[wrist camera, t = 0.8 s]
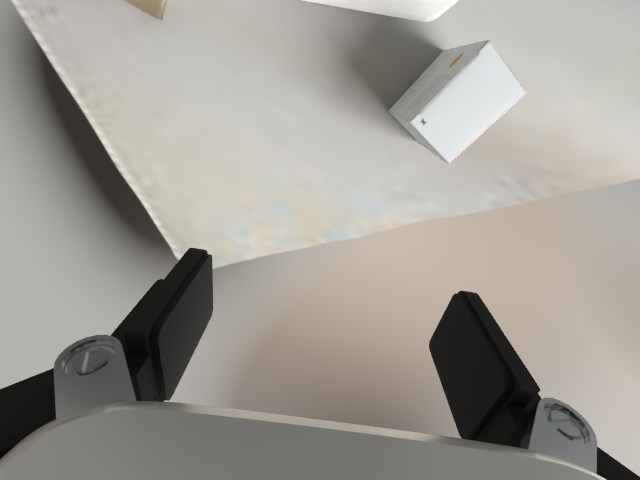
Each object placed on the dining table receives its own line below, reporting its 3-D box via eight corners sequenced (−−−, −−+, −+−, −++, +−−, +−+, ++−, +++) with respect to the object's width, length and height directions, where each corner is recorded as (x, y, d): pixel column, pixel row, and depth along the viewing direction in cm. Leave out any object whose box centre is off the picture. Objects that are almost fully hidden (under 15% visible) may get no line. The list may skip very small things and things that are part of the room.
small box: (418, 143, 36) (447, 167, 27) (386, 110, 34) (407, 123, 25) (474, 87, 33) (530, 93, 24) (443, 48, 31) (490, 37, 22)
